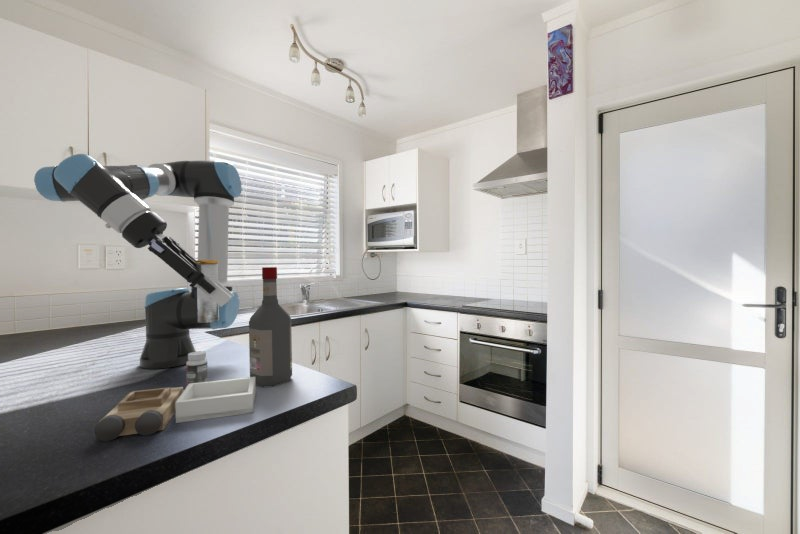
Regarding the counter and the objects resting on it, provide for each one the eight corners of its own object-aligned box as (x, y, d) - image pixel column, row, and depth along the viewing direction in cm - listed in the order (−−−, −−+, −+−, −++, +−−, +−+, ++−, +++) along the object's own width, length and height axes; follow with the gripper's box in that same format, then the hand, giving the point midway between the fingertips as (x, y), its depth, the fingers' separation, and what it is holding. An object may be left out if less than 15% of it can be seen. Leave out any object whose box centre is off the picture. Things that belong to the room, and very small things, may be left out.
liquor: (265, 389, 90) (263, 267, 90) (246, 382, 96) (243, 267, 95) (296, 379, 97) (294, 266, 97) (276, 373, 103) (274, 267, 102)
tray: (189, 401, 83) (189, 383, 83) (255, 393, 87) (255, 376, 87) (175, 423, 71) (175, 402, 71) (252, 412, 76) (252, 393, 76)
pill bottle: (182, 386, 92) (181, 354, 92) (200, 381, 97) (199, 350, 97) (194, 389, 90) (193, 356, 90) (211, 384, 94) (211, 351, 94)
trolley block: (131, 405, 80) (131, 385, 80) (183, 399, 84) (183, 380, 84) (94, 442, 64) (93, 417, 64) (160, 433, 67) (160, 409, 67)
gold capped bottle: (199, 320, 79) (198, 260, 79) (220, 319, 80) (219, 260, 80) (195, 323, 75) (194, 260, 75) (217, 322, 77) (216, 260, 76)
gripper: (137, 238, 81) (221, 308, 86) (101, 232, 65) (206, 319, 70) (164, 214, 83) (245, 285, 88) (135, 203, 66) (236, 291, 72)
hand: (227, 300), depth 79 cm, fingers closed on gold capped bottle, 4 cm apart
